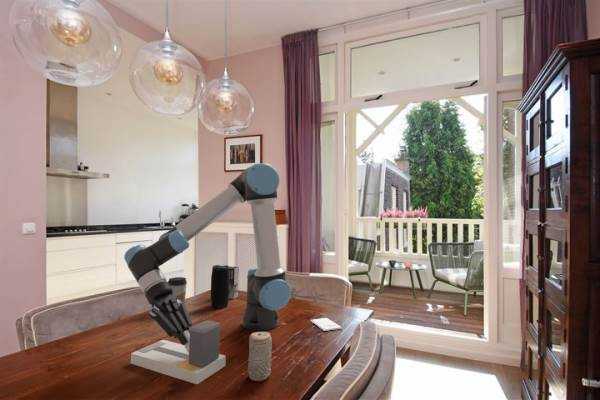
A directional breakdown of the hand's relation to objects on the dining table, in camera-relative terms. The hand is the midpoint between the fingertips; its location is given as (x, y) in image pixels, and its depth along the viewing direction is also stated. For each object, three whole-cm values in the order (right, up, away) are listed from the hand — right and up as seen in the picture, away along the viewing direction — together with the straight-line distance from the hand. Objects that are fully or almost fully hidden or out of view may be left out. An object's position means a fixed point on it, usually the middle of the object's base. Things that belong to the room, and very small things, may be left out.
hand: (194, 351), depth 96 cm
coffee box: (-8, -8, +81) cm, 81 cm away
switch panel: (-6, -5, +3) cm, 8 cm away
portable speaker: (-8, -7, +63) cm, 64 cm away
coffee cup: (-25, -7, +53) cm, 60 cm away
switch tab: (+3, -2, -2) cm, 4 cm away
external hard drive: (+42, -8, +39) cm, 58 cm away
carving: (+20, -6, -4) cm, 21 cm away
